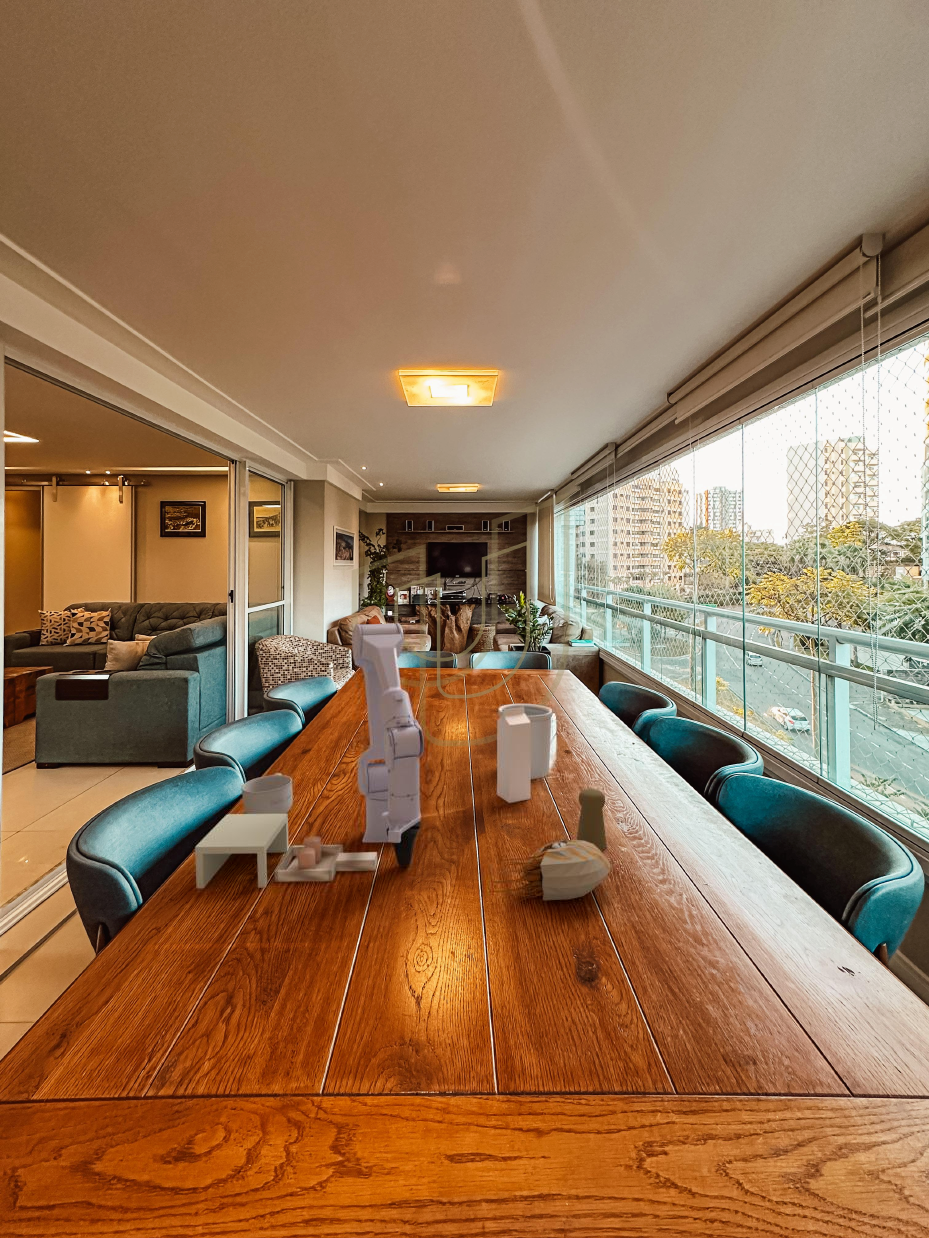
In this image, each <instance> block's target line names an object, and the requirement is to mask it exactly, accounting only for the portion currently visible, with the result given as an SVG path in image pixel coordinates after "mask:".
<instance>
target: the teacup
mask: <svg viewBox="0 0 929 1238" xmlns="http://www.w3.org/2000/svg"><path fill="white" fill-rule="evenodd" d="M240 790H241V791H242V802H243V808H244V812H245V814H287V813H288V812H289V810H290V809H291V808H292V807H293V802H294V801H293V800H294V799H293V798H294V797H293V796H294V795H293V778H292V777H291V776H288V775H284V774H282V773H280V772H276V773H274V774H273V775H265V776H261V777H256V778H253V779H251V780H248V781H246V782H245V783H242V785H241V788H240Z"/></svg>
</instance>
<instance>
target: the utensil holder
mask: <svg viewBox="0 0 929 1238" xmlns="http://www.w3.org/2000/svg"><path fill="white" fill-rule="evenodd" d="M519 707H524V713H525V715H526V716H527V718H528V719H529V720H530V722H531V779H530V780H535V779H541V778H545V777H546V776H547V775H549V772H550V761H551V760H550V759H551V758H550V757H551V738H552V737H551V736H552V733H551V732H552V716H553V709H552V708H551V707H549V706H546V705H545V706H544V705H541V704H535V703H533V704H532V703H510V704H506V705H505V704H504V705H501V706H499V707H498V711H497V713H498V716H499V717H498V719H499V718H500V717H502V716H503V710H504V709H510V708H519Z"/></svg>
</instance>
